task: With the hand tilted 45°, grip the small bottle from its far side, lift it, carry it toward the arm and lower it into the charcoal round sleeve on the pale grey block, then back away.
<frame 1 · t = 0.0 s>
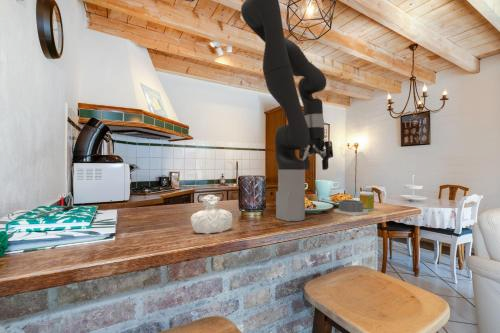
hand: (315, 169, 91), 17 cm above the countertop, tool pointing down, fingers open, 8 cm apart
supplement bottle: (366, 210, 101), on the countertop
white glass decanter: (211, 231, 68), on the countertop
pale grey sleeve block: (350, 212, 94), on the countertop
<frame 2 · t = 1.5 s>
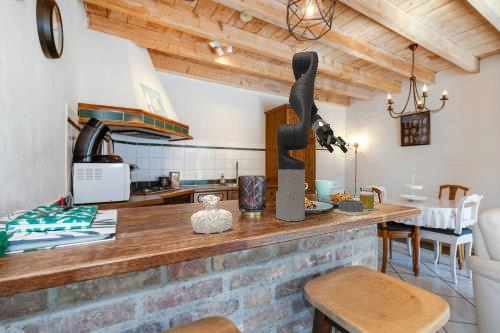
hand: (339, 151, 111), 25 cm above the countertop, tool tilted 45°, fingers open, 8 cm apart
nothing on the countertop moved.
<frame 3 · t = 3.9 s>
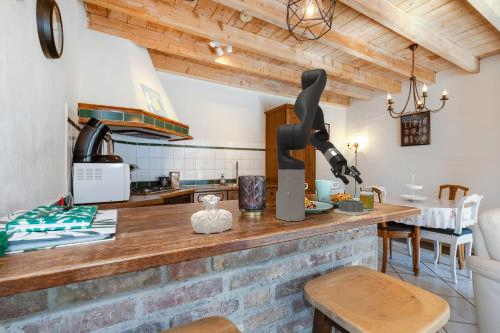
hand: (354, 183, 107), 11 cm above the countertop, tool tilted 45°, fingers open, 8 cm apart
nothing on the countertop moved.
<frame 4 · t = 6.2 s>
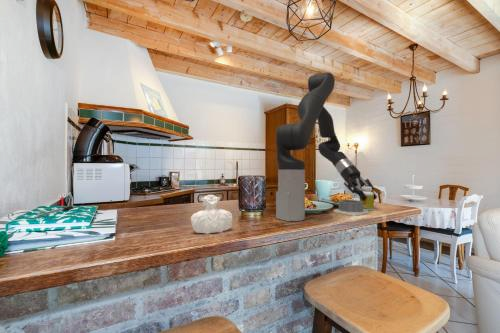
hand: (370, 199, 100), 5 cm above the countertop, tool tilted 45°, fingers closed on supplement bottle, 5 cm apart
supplement bottle: (366, 210, 101), on the countertop, touching gripper
everything else where it was.
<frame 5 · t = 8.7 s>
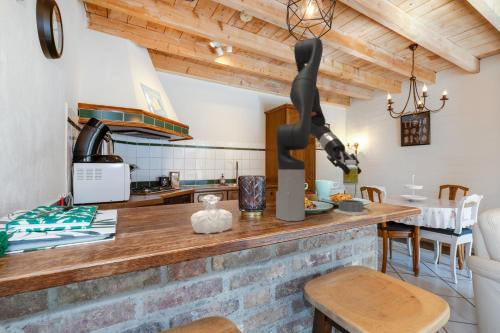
hand: (354, 172, 93), 16 cm above the countertop, tool tilted 45°, fingers closed on supplement bottle, 5 cm apart
supplement bottle: (350, 185, 94), point 11 cm above the countertop, touching gripper
everything else where it was.
when the fingers open (8 cm above the countertop, at t = 11.1 s): supplement bottle drops 2 cm, resting on pale grey sleeve block.
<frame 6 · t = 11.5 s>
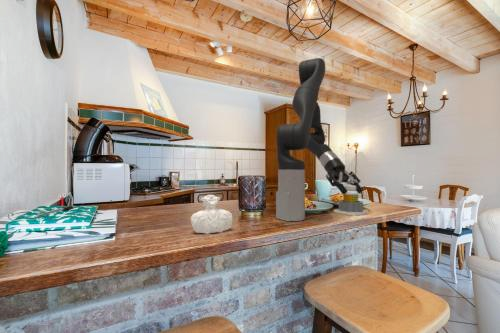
hand: (353, 192, 93), 8 cm above the countertop, tool tilted 45°, fingers open, 8 cm apart
supplement bottle: (350, 210, 95), point 1 cm above the countertop, touching pale grey sleeve block
everything else where it was.
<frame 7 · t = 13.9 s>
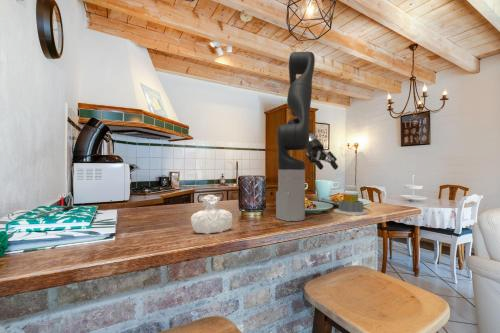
hand: (329, 168, 105), 18 cm above the countertop, tool tilted 45°, fingers open, 8 cm apart
nothing on the countertop moved.
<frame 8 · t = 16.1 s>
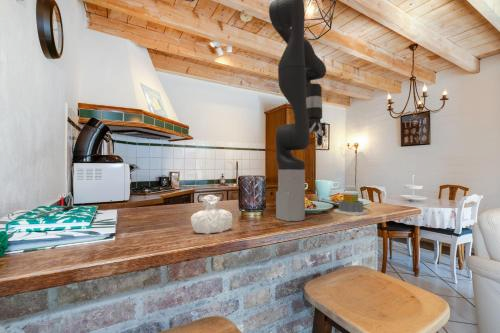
hand: (313, 144, 106), 28 cm above the countertop, tool pointing down, fingers open, 8 cm apart
nothing on the countertop moved.
at the end: supplement bottle 0.4 cm off-centre on the pale grey sleeve block, point 0.8 cm above the pale grey sleeve block's base; supplement bottle tilted 0°; the gripper is holding nothing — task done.
